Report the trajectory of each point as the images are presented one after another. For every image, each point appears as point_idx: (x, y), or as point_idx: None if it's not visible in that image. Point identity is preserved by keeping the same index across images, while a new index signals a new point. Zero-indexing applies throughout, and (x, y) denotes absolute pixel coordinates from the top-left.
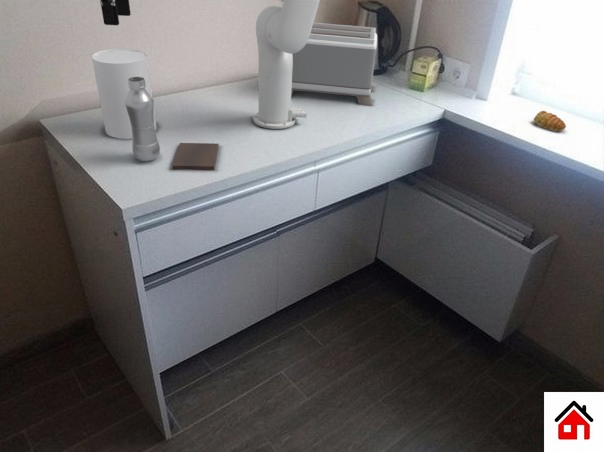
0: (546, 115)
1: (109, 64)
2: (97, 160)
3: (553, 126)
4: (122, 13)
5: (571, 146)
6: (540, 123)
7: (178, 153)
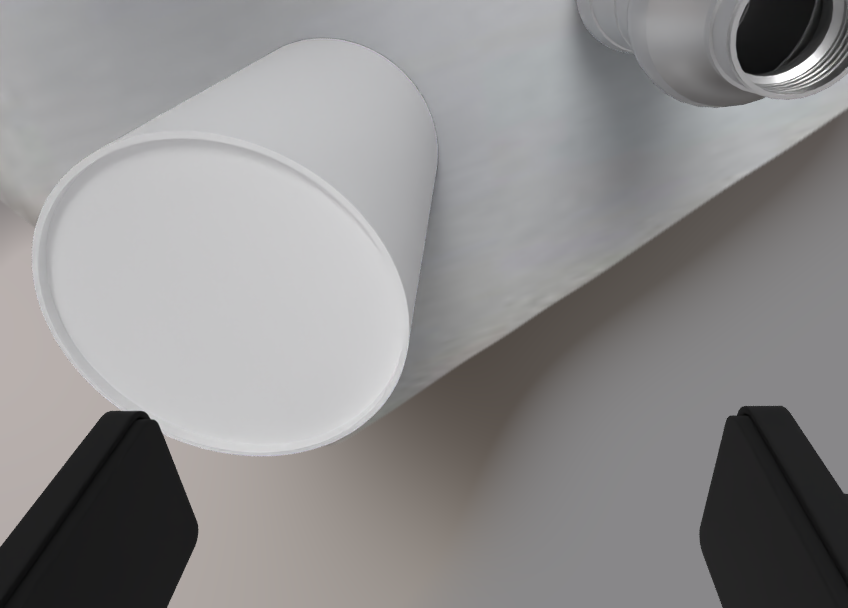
0: None
1: (410, 328)
2: (641, 186)
3: None
4: (172, 498)
5: None
6: None
7: None
